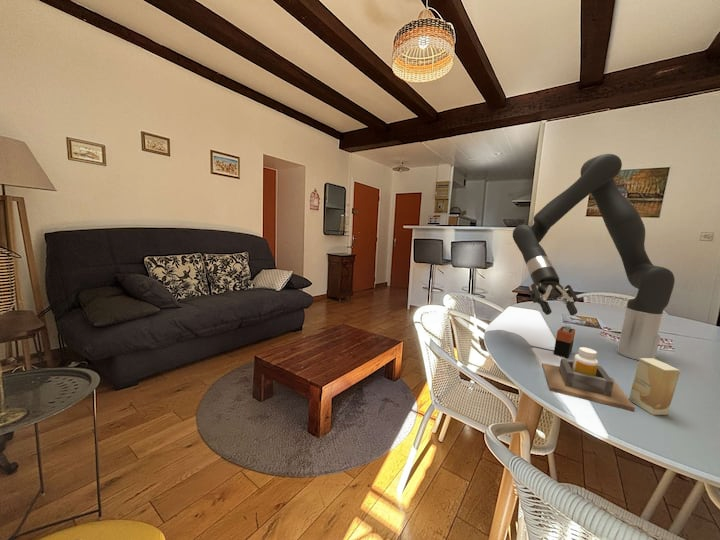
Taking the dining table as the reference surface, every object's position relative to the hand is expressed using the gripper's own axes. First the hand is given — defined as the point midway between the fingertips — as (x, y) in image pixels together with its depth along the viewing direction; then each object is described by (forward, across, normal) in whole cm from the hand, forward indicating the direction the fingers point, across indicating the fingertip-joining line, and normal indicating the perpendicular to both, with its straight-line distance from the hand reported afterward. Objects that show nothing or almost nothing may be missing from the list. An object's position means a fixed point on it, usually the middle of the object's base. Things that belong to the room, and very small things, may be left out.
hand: (561, 314), depth 92 cm
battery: (+6, +11, +19) cm, 23 cm away
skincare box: (+28, +9, -3) cm, 29 cm away
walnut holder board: (+21, 0, +4) cm, 21 cm away
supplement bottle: (+20, 0, +4) cm, 20 cm away
